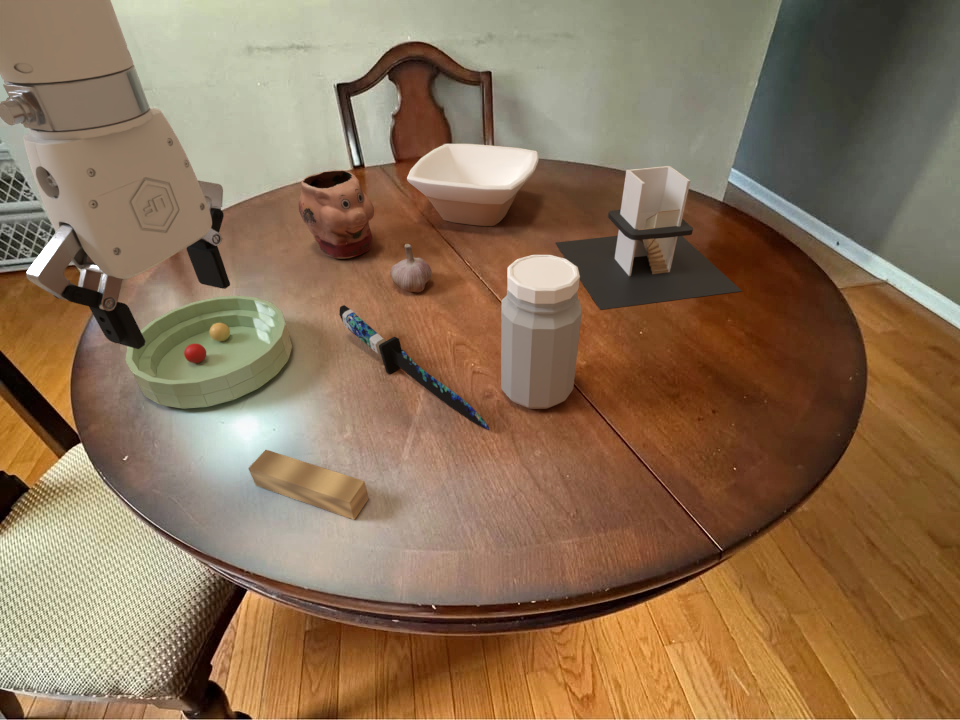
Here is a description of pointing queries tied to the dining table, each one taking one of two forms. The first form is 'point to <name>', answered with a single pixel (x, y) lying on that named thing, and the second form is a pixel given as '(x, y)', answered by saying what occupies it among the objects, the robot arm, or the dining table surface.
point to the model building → (646, 248)
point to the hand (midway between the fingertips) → (175, 312)
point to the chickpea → (219, 331)
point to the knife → (406, 364)
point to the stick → (309, 484)
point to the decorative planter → (337, 213)
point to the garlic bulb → (411, 272)
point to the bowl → (473, 180)
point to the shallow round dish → (210, 352)
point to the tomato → (195, 353)
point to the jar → (540, 331)
